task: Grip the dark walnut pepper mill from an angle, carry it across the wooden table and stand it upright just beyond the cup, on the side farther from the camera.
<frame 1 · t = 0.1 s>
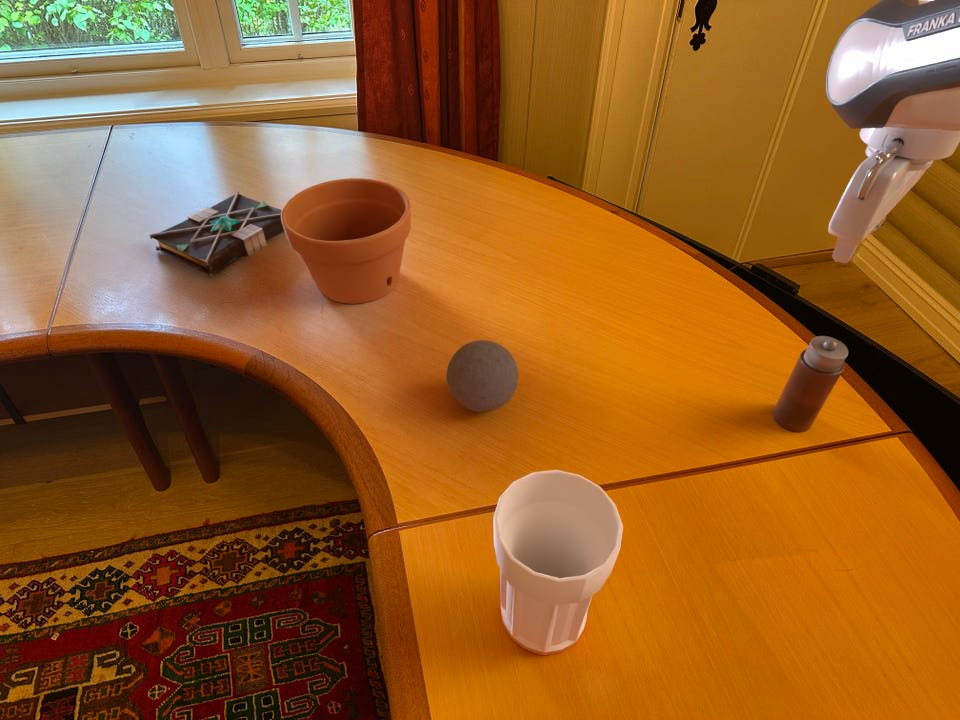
hand: (855, 243, 71), 25 cm above the table, tool pointing down, fingers open, 8 cm apart
decorative ball: (482, 401, 88), on the table
book: (228, 240, 120), on the table
cup: (543, 612, 65), on the table
pepper mill: (791, 418, 85), on the table
flower pot: (358, 282, 109), on the table
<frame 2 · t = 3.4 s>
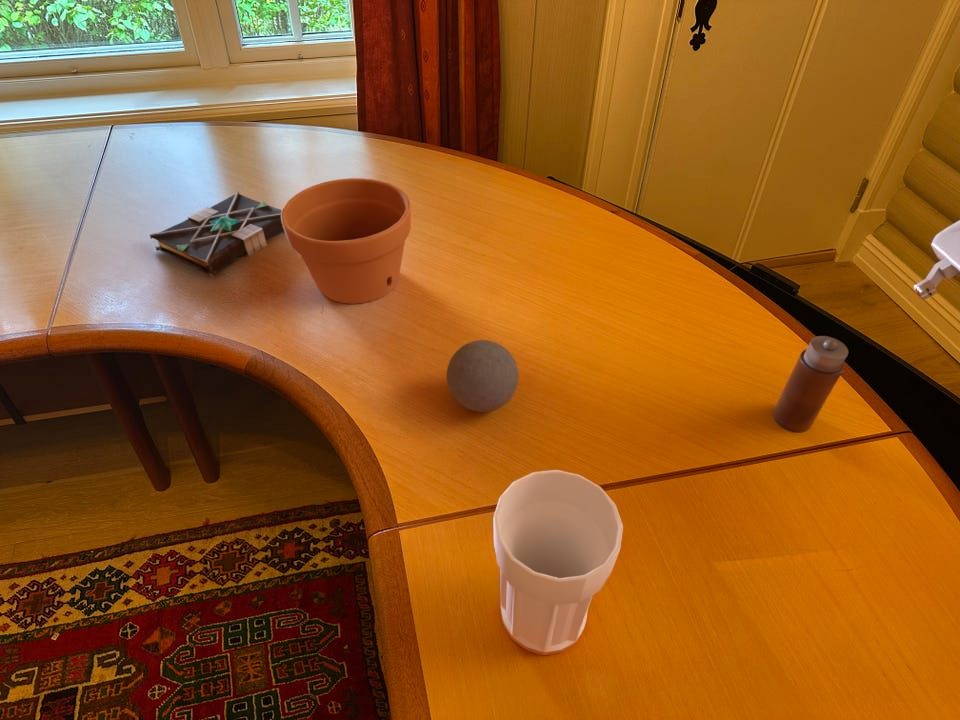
hand: (940, 316, 74), 18 cm above the table, tool tilted 45°, fingers open, 8 cm apart
nothing on the table moved.
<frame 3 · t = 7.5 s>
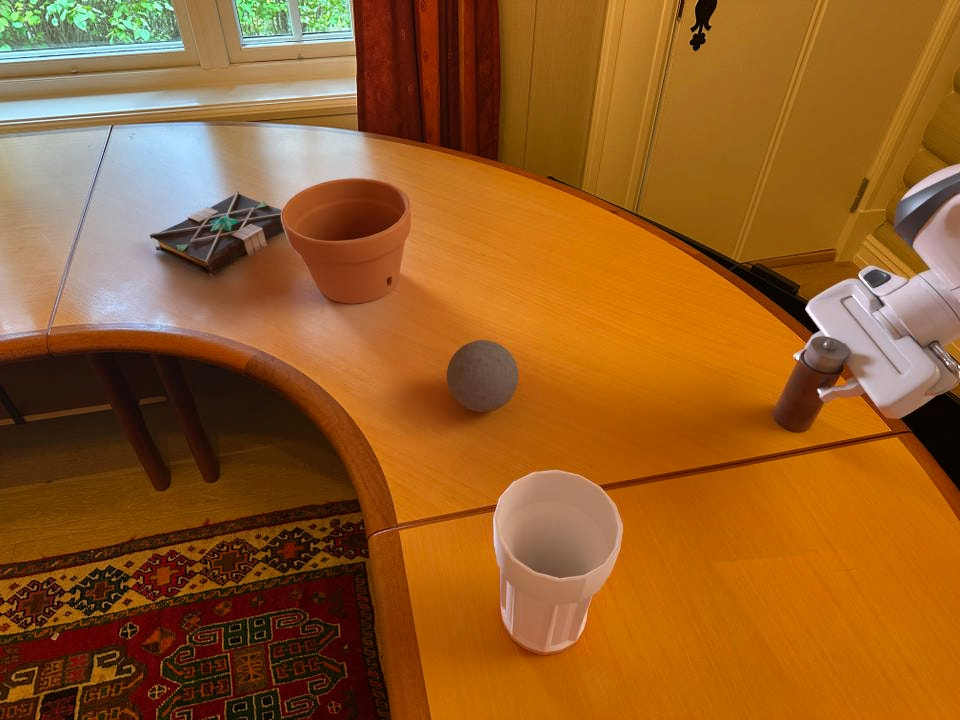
hand: (808, 378, 80), 8 cm above the table, tool tilted 45°, fingers closed on pepper mill, 5 cm apart
pepper mill: (791, 418, 85), on the table, touching gripper
everything else where it was.
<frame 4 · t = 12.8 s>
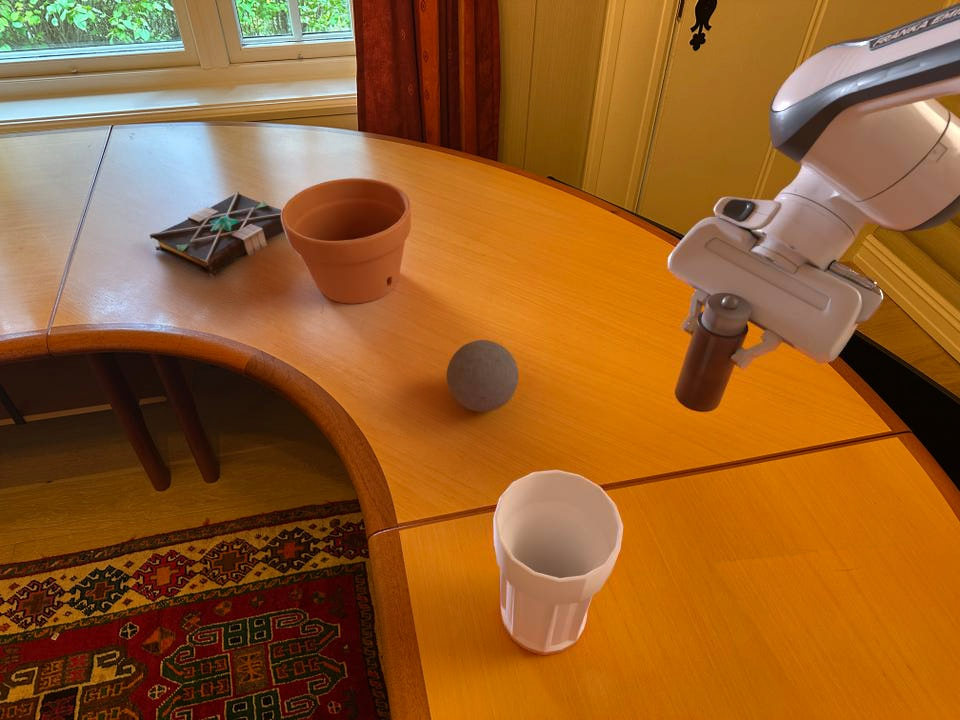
hand: (710, 348, 66), 20 cm above the table, tool tilted 45°, fingers closed on pepper mill, 5 cm apart
pepper mill: (697, 396, 71), point 12 cm above the table, touching gripper
everything else where it was.
when the fingers open (8 cm above the table, at t = 18.2 s): pepper mill stays where it is, on the table.
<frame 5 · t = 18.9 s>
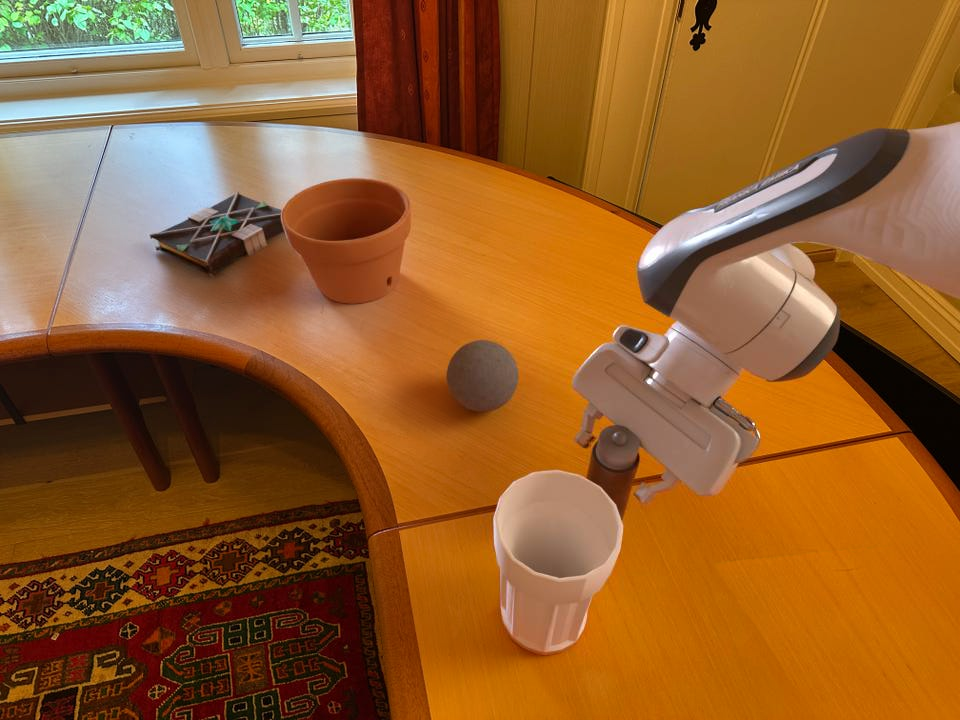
hand: (608, 471, 68), 8 cm above the table, tool tilted 45°, fingers open, 8 cm apart
pepper mill: (601, 510, 74), on the table
everything else where it was.
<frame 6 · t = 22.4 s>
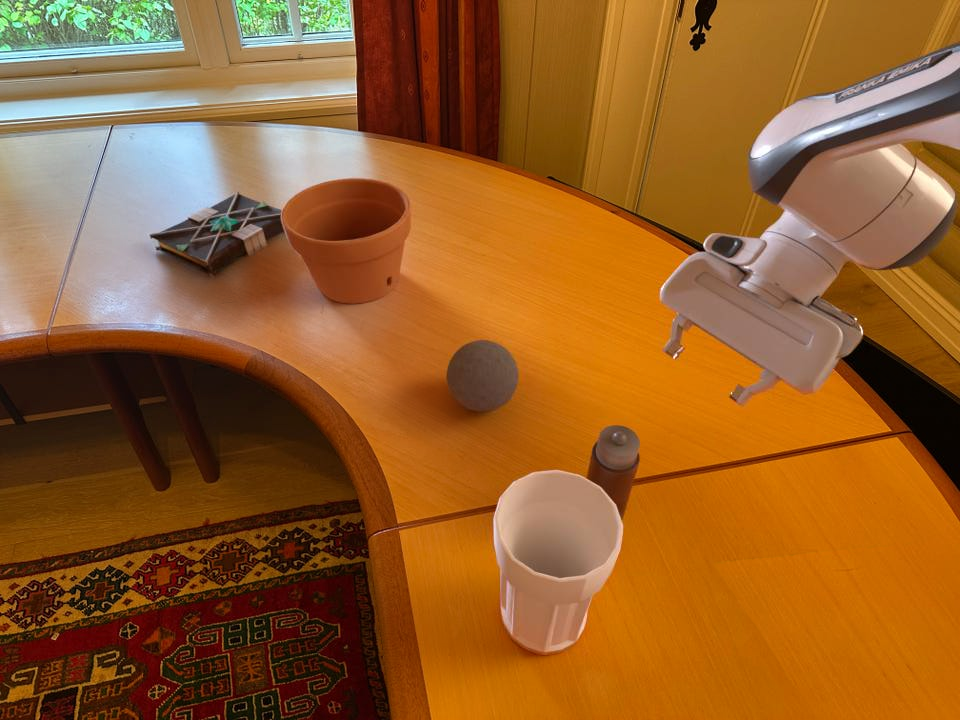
hand: (700, 377, 69), 16 cm above the table, tool tilted 45°, fingers open, 8 cm apart
nothing on the table moved.
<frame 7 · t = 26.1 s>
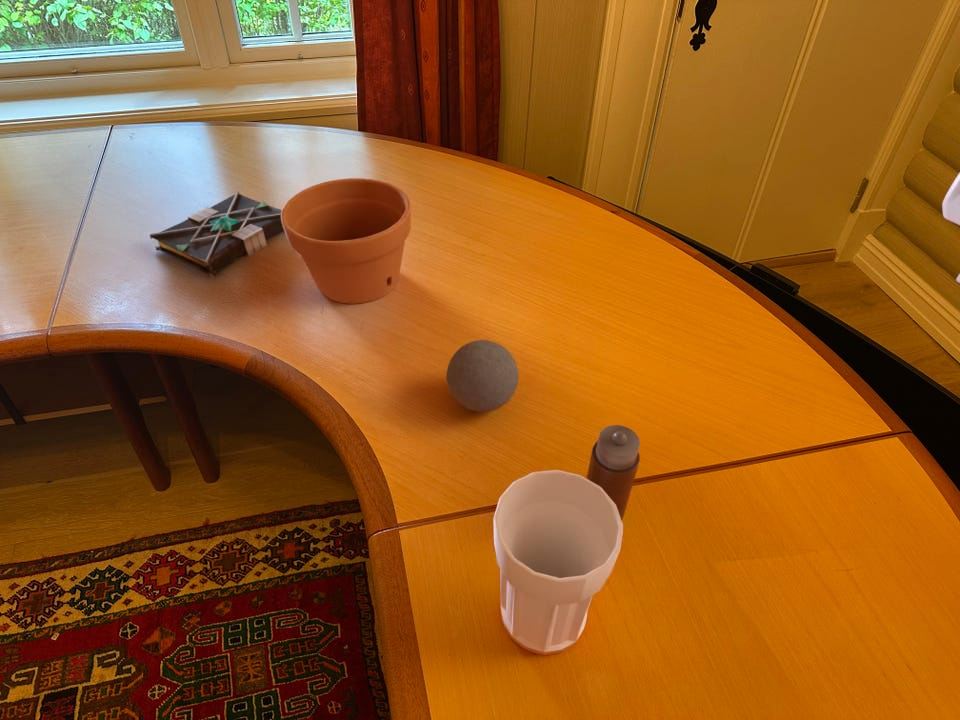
nothing on the table moved.
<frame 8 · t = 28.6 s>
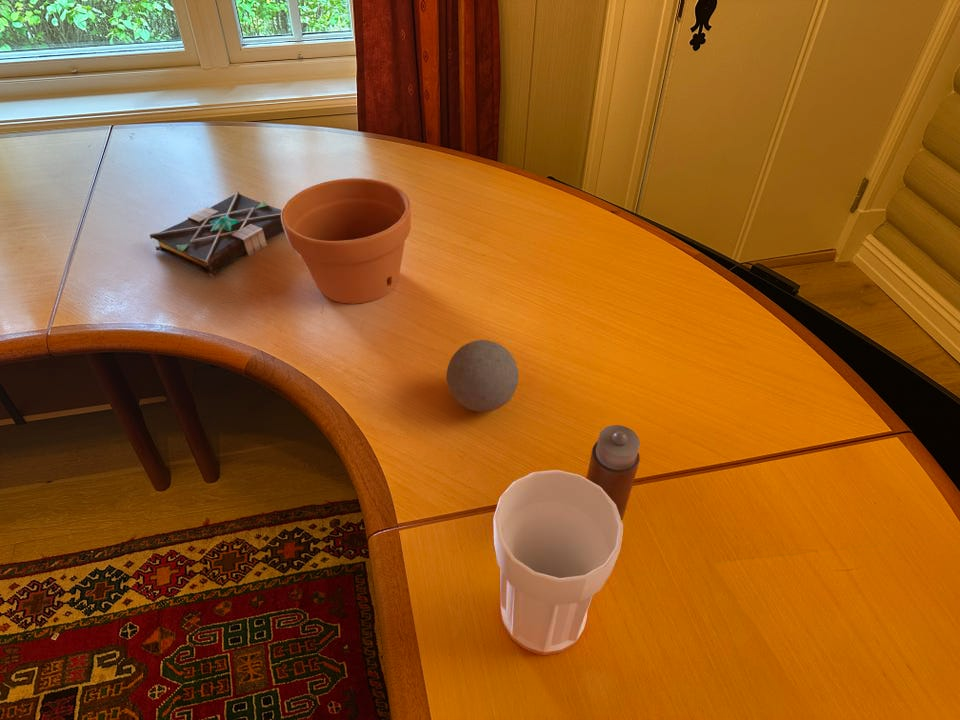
nothing on the table moved.
at the end: pepper mill inside the target area on the table beside the cup (0.1 cm from its centre), on the table; pepper mill tilted 0°; cup moved 0.2 cm from its start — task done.
